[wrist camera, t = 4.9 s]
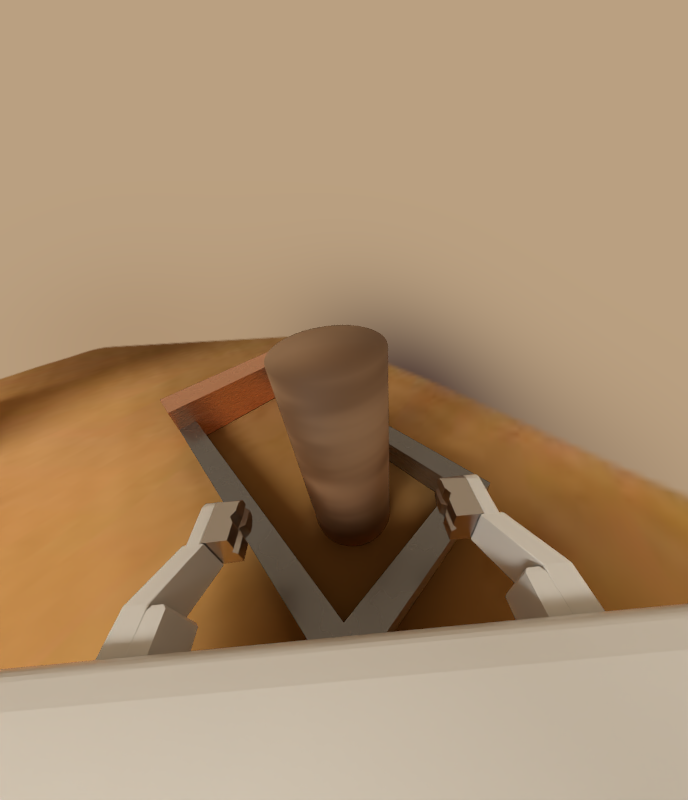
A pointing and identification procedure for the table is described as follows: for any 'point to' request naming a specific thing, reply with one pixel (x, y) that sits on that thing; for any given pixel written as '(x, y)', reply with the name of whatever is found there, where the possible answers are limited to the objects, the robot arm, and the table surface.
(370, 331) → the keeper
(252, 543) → the guide track
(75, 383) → the table surface
